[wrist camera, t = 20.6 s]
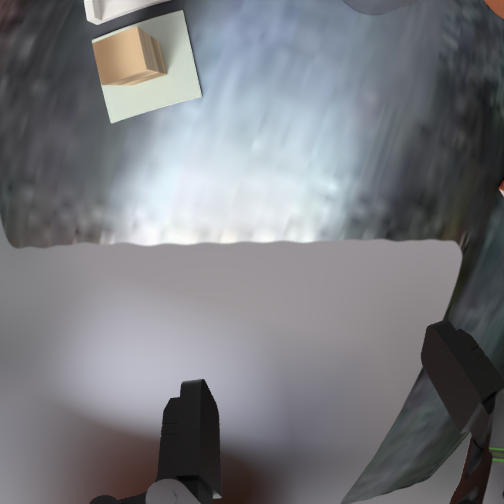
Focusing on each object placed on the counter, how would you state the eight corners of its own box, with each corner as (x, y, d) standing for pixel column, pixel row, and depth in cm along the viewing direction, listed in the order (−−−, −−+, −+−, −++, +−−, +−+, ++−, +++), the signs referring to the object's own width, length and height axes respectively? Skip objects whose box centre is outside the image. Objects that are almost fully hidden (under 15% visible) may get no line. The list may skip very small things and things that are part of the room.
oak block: (159, 42, 32) (137, 26, 22) (167, 74, 34) (146, 69, 24) (125, 53, 32) (92, 43, 22) (132, 85, 34) (101, 85, 24)
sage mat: (183, 10, 30) (182, 9, 30) (202, 96, 36) (201, 96, 36) (93, 40, 31) (91, 40, 30) (112, 123, 36) (111, 123, 36)
